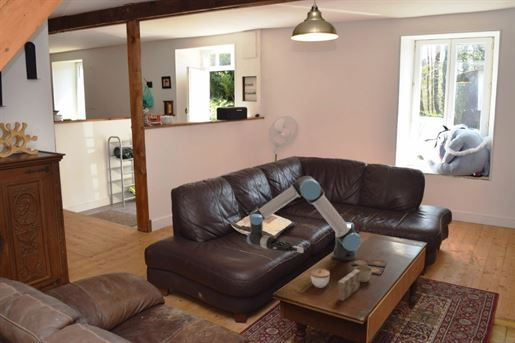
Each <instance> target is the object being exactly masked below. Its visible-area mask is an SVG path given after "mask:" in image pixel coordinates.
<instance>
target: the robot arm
mask: <svg viewBox="0 0 515 343" xmlns="http://www.w3.org/2000/svg"><path fill="white" fill-rule="evenodd" d="M301 197H304V199H305V200H306V201H307V202H308V204H310V205H313V206H314V208H316V210H317V211H318V212H319V214H320V215H321V216H322V217H323V218H324V220H325V221H326V222H327V223H328V225H329V226H330V227H331V228H332V230H334V233H335V246H334V249H333V252H332V258H333V259H335V260H338V261H344V262H345V261H354V260H356V258H357V252H356V251H357V249H359V248H360V246H361V245H362V238H361V235H360V234H358V233H357V231H356V230H355V224H354V223H353V222H348V221H347V222H346V221H345V220H344V219H343V217H342V216H341V215H340V214H339V213H338V211H337V209H336V208H335V207H334V206H333V205H332V203H331V202H330V201H329V200H328V198H327V197H326V195H325V191H324V189H323V188H322V187H321V185H320V183H319V182H318V181H317V180H316V179H314V177H312V176H310V175H304V176H301V177H300V178H298V179H297V180H296V181H294V182H293V183H291V184H290V187H288V188H287V189H285V190H284V191H282V192H281V193H280V194H279V195H278V194H277V196H276V197H274V198H273V199H271V200H270V201H268V202H267V203H265V204H263V206H261V207H260V208H258V209H256V210H253V211H251V212H250V214H249V223H250V232H248V233H247V237H246V243H247V244H249V245H251V246H254V247H260V248H263V249H265V250H266V249H268V250H271V251H281V252H287V253H288V252H290V253H293V252H295V253H296V252H297V253H299V254H300V253H301V254H303V253H304V247H302V246H298V245H297V246H296V244H295V243H292V242H290V241H287V240H283V241H282V240H278V238H277V237H274V236H270V235H266V234H264V233H263V232H264V231H263V229H264V228H263V227H264V224H263V222H264V220H266V219H267V218H268V217H271V216H272V215H273V214H274V213H275V212H277V211H278V210H280V209H282V208H283V207H284V206H286V205H288V204H290V203H291V202H292V201H293V200H295V199H296V198H301Z"/></svg>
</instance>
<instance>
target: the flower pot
mask: <svg viewBox="0 0 515 343" xmlns="http://www.w3.org/2000/svg"><path fill="white" fill-rule="evenodd" d="M355 269H356V270H360V283H367V282H368V281H369V280H370V279H371V276H372V273H373V268H372V267H371V266H368V265H358V266H357V265H356V266H355V267H354V270H355Z"/></svg>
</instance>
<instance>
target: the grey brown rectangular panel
mask: <svg viewBox="0 0 515 343" xmlns="http://www.w3.org/2000/svg"><path fill="white" fill-rule="evenodd" d="M337 283H338V284H337V285H338V286H337V288H338V289H337V300H339V301H343V302H344V301H345V300H346V299H348V298H349V297H350V296H351V295H353V294H354V293H355V292H357V290H359V289H360V288H361V281H360V270H356V269H355V268H354V270H352V271H351V272H350V273H348V274H347V275H345V276H344V277H342V278H341V279H340V280H339V281H338V282H337Z"/></svg>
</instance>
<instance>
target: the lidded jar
mask: <svg viewBox="0 0 515 343" xmlns="http://www.w3.org/2000/svg"><path fill="white" fill-rule="evenodd" d="M330 276H331V273H330V271H329V270H328V269H324V268H316V269H312V270H311V271H310V280H311V283H312V285H314V287H316V288H320V289H321V288H326V286H327V285H328V284H329V282H330Z"/></svg>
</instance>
